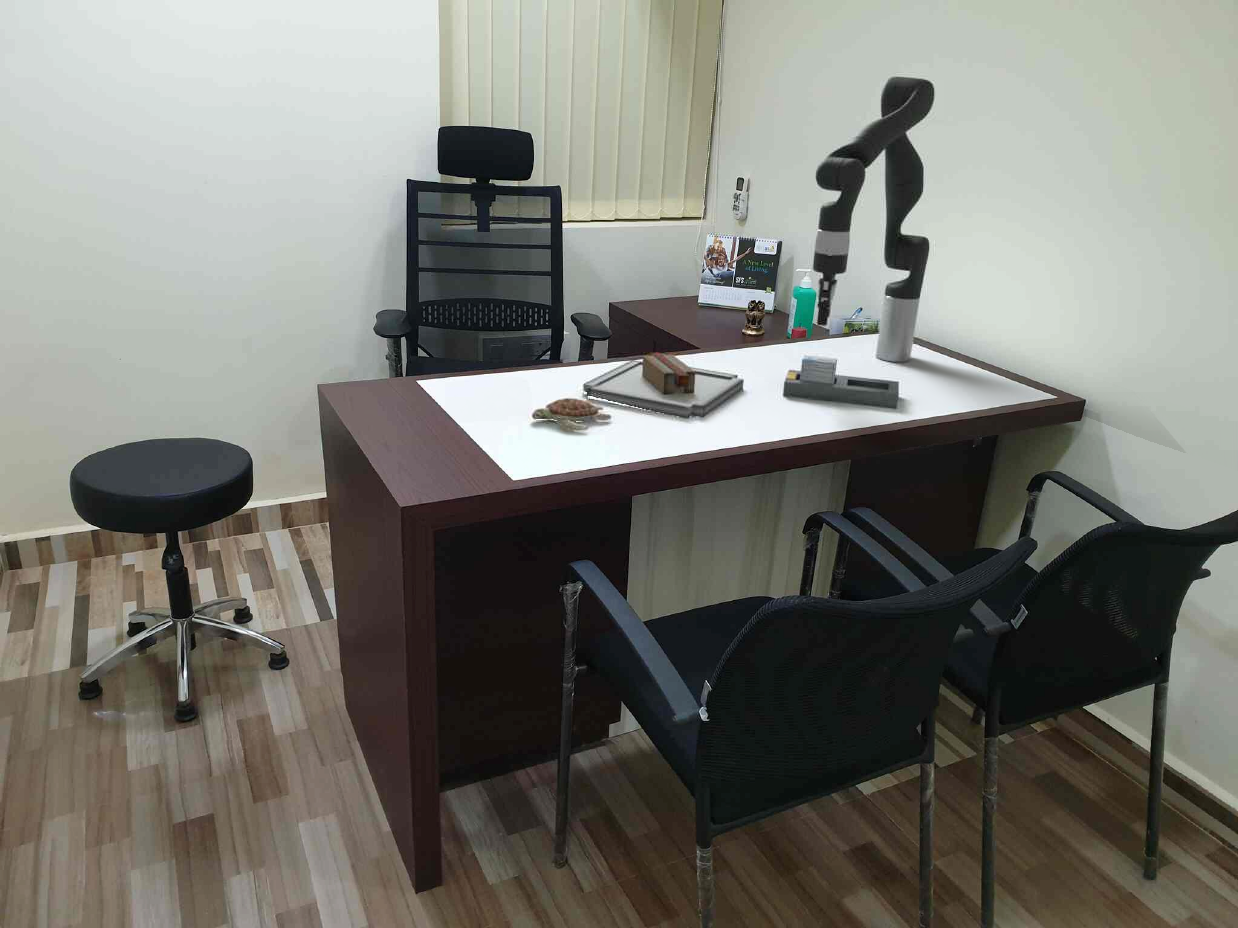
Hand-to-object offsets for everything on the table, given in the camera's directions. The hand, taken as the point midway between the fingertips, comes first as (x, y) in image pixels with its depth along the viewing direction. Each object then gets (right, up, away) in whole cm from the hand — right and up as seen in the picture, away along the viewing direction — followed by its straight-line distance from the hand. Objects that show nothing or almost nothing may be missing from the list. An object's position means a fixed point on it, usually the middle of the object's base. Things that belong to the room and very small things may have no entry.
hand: (823, 321), depth 213 cm
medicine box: (0, -17, +6) cm, 18 cm away
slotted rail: (+5, -17, +5) cm, 19 cm away
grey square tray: (-37, -17, +3) cm, 41 cm away
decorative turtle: (-58, -24, -18) cm, 65 cm away
